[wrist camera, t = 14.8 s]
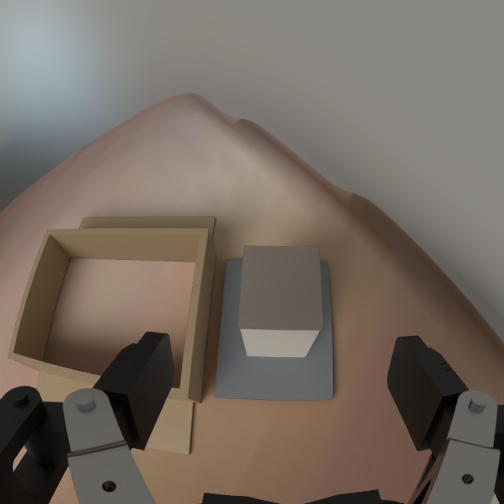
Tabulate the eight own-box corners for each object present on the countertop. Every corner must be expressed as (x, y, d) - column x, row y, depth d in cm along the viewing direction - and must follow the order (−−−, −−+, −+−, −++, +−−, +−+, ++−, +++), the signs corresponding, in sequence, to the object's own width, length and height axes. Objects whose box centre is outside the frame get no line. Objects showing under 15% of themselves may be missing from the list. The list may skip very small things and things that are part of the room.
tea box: (246, 356, 24) (238, 325, 17) (250, 297, 26) (243, 245, 19) (305, 357, 23) (322, 327, 17) (305, 298, 26) (318, 247, 19)
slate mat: (215, 397, 23) (214, 396, 22) (227, 262, 29) (226, 259, 28) (331, 399, 22) (333, 399, 22) (326, 264, 28) (327, 261, 28)
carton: (30, 412, 21) (0, 404, 17) (80, 219, 32) (62, 195, 29) (197, 455, 20) (182, 461, 16) (221, 218, 31) (215, 188, 28)
